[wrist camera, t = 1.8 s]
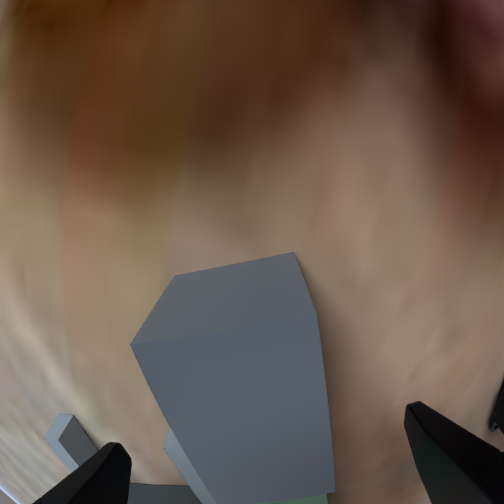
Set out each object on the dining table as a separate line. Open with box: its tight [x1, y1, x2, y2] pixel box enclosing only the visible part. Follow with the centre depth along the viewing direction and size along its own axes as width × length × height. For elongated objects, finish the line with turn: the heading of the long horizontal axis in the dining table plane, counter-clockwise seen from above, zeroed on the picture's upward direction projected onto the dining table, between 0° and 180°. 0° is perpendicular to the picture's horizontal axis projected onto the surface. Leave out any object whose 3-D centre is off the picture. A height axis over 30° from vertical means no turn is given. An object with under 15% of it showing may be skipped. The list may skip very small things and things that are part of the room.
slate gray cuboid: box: [130, 252, 336, 504], centre depth 11 cm, size 4×8×5 cm, turn 12°
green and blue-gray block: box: [44, 414, 328, 504], centre depth 14 cm, size 15×12×4 cm
